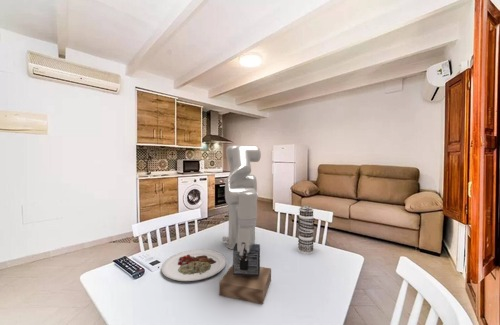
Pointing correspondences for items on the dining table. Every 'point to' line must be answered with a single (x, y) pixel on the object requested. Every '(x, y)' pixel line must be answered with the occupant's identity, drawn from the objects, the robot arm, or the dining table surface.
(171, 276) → the plated food
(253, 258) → the small box
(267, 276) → the block
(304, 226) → the decorative candle
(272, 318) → the dining table surface
